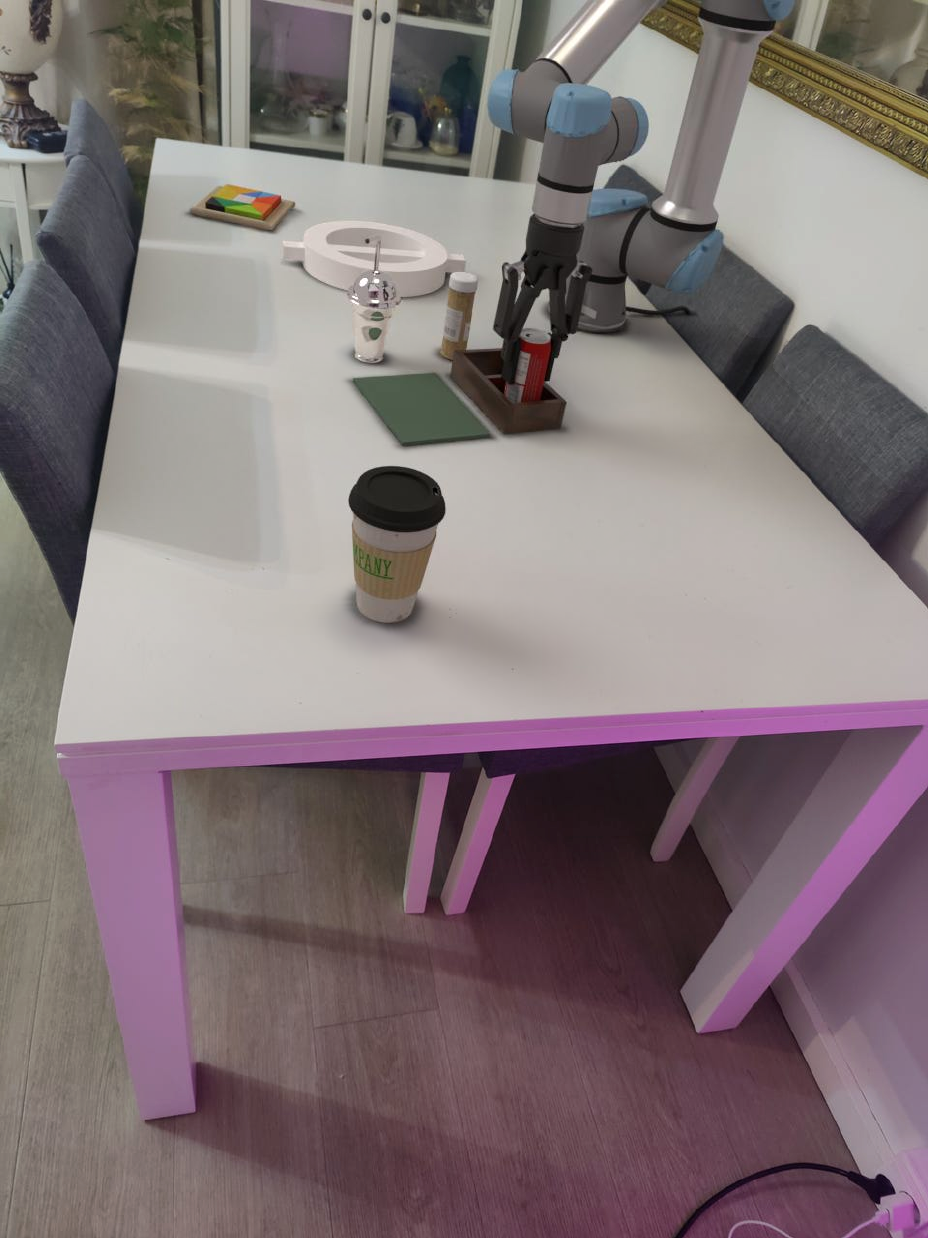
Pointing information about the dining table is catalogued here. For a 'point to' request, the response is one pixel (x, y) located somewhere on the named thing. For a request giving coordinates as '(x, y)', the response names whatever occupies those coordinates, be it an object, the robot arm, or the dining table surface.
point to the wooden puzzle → (243, 206)
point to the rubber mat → (420, 409)
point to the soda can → (530, 366)
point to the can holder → (486, 389)
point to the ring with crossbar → (373, 255)
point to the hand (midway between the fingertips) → (525, 378)
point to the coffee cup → (392, 538)
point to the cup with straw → (372, 309)
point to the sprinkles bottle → (458, 313)
